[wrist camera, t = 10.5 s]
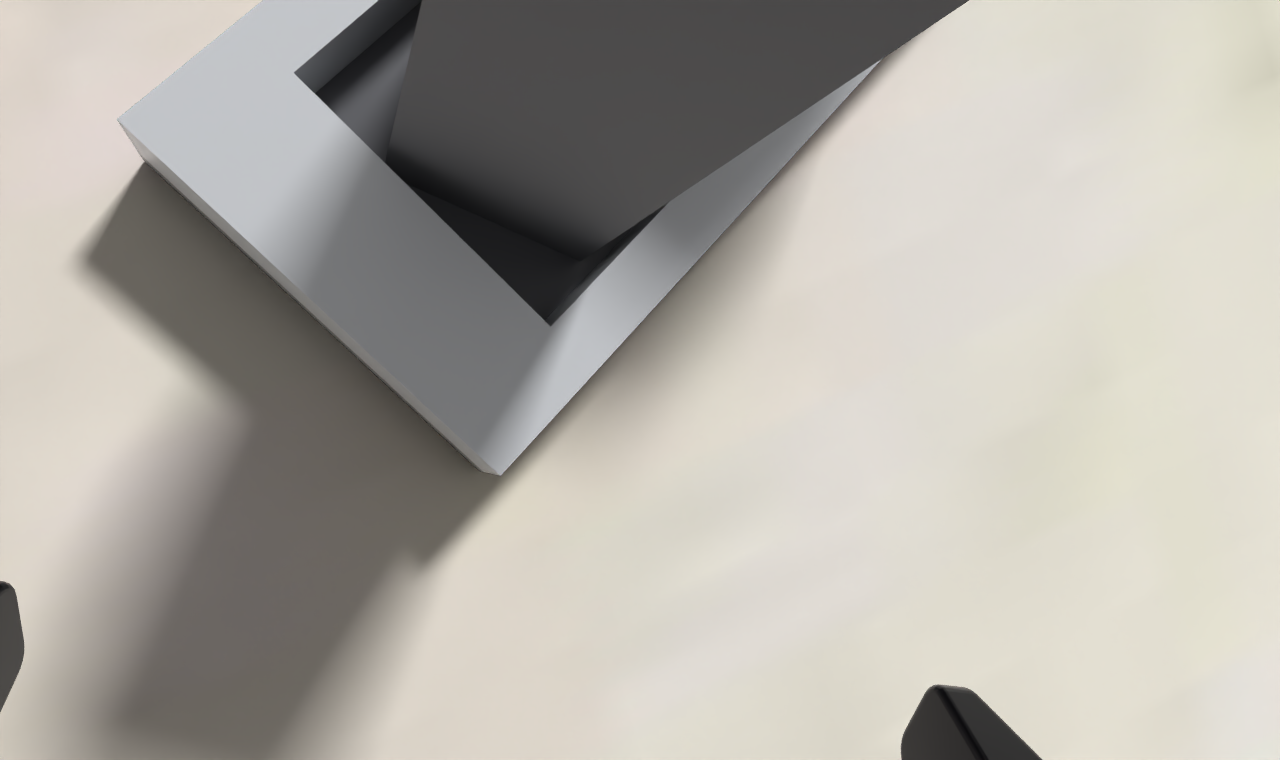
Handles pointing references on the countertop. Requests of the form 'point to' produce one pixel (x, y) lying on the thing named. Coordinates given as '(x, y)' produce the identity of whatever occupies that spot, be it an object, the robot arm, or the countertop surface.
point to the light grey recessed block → (414, 222)
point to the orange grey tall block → (616, 99)
